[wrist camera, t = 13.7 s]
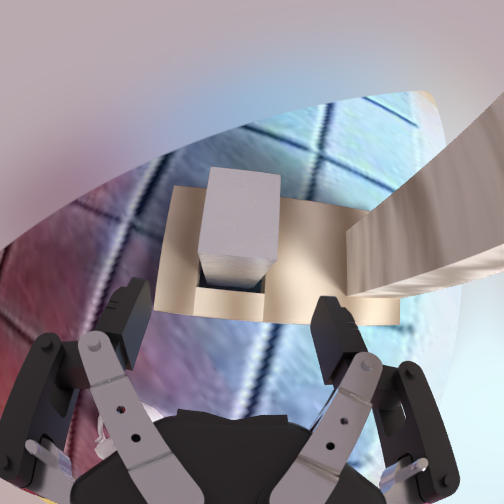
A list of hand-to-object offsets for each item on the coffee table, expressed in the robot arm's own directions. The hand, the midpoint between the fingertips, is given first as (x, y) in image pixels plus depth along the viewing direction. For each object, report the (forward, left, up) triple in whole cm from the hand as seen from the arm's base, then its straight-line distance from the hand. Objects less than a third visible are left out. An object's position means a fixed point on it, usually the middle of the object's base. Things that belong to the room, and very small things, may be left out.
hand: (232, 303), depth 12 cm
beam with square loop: (+5, +5, -12) cm, 14 cm away
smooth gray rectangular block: (0, +5, -12) cm, 13 cm away
